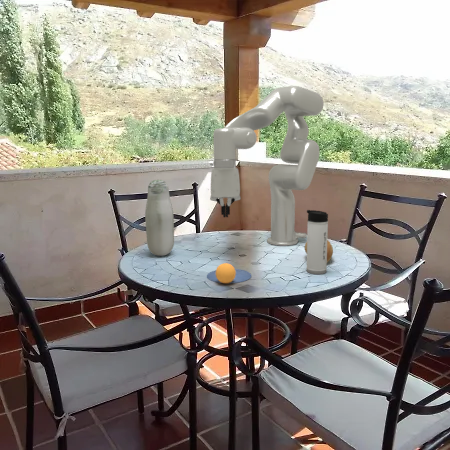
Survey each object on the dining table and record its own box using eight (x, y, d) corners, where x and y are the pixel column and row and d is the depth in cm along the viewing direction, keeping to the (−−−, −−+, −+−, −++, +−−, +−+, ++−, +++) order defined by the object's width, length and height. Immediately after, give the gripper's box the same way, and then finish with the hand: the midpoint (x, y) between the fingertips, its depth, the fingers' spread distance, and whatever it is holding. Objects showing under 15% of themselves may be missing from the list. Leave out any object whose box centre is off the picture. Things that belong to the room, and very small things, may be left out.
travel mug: (304, 268, 144) (305, 208, 140) (324, 268, 144) (326, 208, 140) (306, 274, 138) (308, 212, 134) (328, 274, 138) (330, 211, 134)
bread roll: (307, 266, 148) (307, 243, 146) (301, 254, 162) (302, 233, 161) (336, 266, 147) (337, 243, 146) (328, 254, 162) (328, 233, 160)
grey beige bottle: (144, 253, 167) (140, 179, 161) (171, 250, 170) (168, 178, 165) (150, 259, 158) (146, 181, 152) (178, 256, 161) (175, 180, 156)
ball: (235, 273, 127) (235, 287, 131) (235, 259, 132) (235, 273, 135) (214, 273, 127) (215, 287, 131) (215, 258, 132) (216, 272, 136)
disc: (249, 268, 145) (249, 268, 145) (253, 282, 132) (253, 281, 132) (206, 269, 145) (206, 269, 145) (206, 283, 131) (206, 283, 131)
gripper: (203, 165, 148) (204, 219, 152) (247, 165, 149) (247, 218, 152) (203, 164, 156) (204, 215, 159) (245, 163, 156) (245, 214, 160)
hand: (225, 216), depth 156 cm, fingers closed
